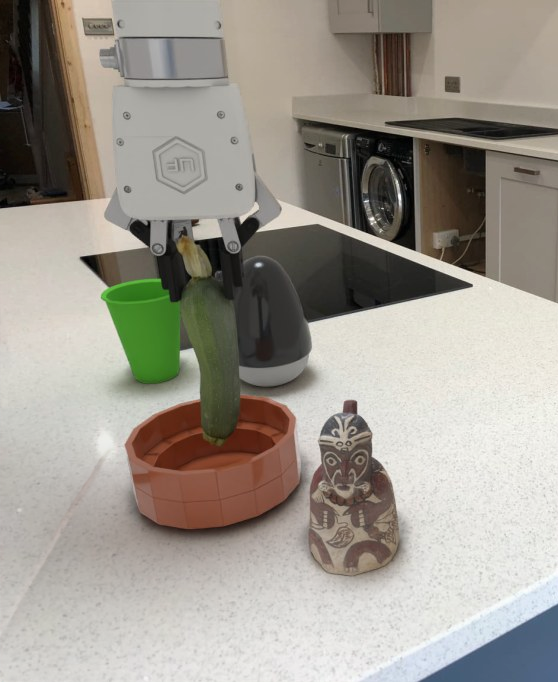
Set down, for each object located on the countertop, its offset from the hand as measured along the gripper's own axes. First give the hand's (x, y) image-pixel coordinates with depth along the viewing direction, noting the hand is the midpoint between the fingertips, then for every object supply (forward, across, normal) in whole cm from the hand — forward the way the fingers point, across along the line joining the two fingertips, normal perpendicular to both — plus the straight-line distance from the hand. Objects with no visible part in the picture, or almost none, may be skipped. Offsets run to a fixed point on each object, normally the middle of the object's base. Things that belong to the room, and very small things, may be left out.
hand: (205, 294), depth 62 cm
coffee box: (+18, -26, +92) cm, 97 cm away
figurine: (+18, +12, -12) cm, 25 cm away
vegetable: (+15, 0, 0) cm, 15 cm away
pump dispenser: (+18, +2, +22) cm, 28 cm away
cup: (+18, -12, +25) cm, 33 cm away
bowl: (+18, 0, -2) cm, 18 cm away
